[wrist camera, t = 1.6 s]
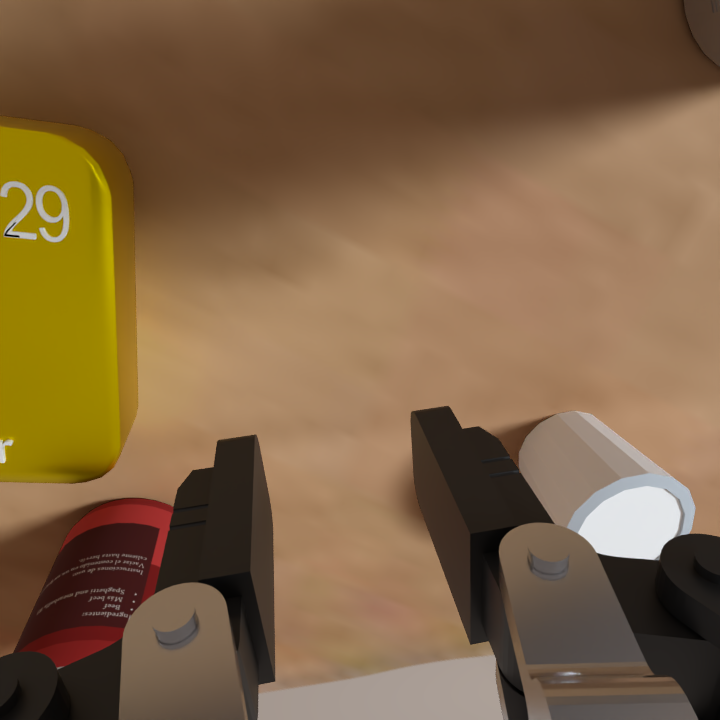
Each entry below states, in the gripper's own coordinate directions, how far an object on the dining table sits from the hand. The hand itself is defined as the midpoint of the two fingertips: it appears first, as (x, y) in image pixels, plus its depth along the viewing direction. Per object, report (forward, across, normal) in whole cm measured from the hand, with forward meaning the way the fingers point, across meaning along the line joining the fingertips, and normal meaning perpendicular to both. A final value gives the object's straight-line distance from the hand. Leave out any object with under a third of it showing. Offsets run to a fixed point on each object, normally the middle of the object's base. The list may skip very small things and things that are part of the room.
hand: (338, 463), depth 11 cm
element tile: (+18, +15, 0) cm, 23 cm away
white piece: (+17, -14, +14) cm, 26 cm away
